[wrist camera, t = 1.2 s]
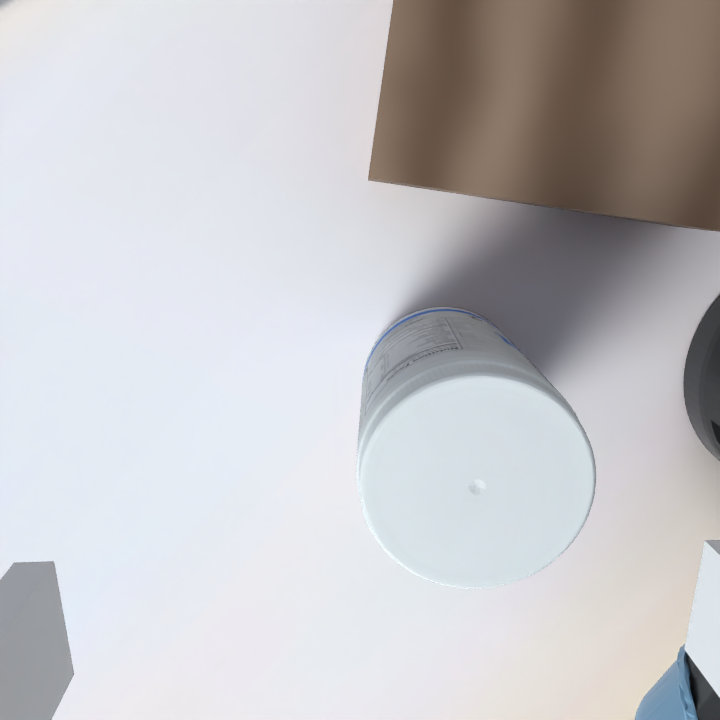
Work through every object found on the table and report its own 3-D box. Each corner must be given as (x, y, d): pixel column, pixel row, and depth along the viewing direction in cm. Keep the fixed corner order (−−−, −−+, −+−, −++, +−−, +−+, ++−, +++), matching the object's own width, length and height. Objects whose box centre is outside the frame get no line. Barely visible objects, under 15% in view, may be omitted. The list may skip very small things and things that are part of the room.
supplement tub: (547, 393, 38) (652, 512, 24) (423, 479, 40) (454, 638, 26) (454, 269, 36) (510, 318, 22) (328, 365, 38) (305, 468, 24)
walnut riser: (779, -140, 31) (874, -215, 25) (679, 226, 36) (739, 233, 30) (422, -199, 30) (434, -291, 25) (368, 180, 35) (368, 177, 29)
